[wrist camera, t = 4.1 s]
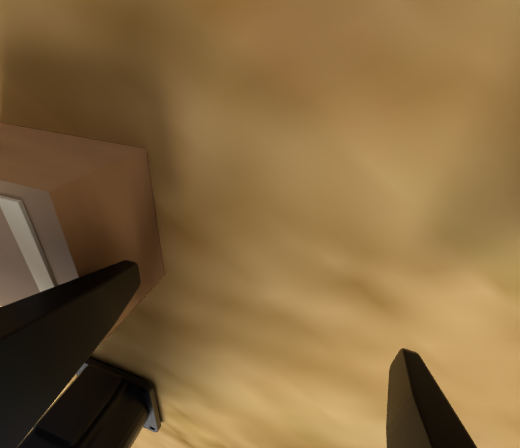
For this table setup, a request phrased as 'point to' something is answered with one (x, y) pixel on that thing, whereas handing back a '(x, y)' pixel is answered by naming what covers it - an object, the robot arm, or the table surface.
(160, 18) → the table surface
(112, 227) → the block
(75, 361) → the robot arm
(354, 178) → the table surface
